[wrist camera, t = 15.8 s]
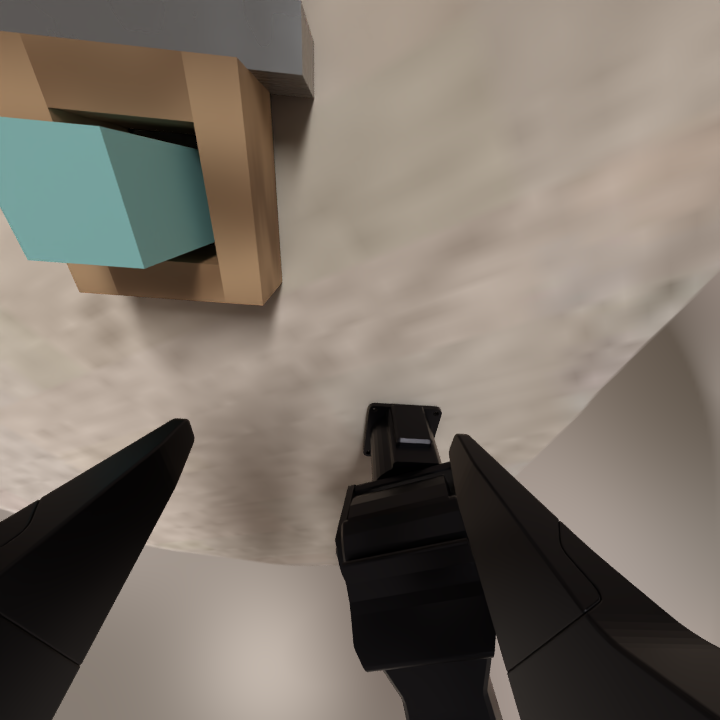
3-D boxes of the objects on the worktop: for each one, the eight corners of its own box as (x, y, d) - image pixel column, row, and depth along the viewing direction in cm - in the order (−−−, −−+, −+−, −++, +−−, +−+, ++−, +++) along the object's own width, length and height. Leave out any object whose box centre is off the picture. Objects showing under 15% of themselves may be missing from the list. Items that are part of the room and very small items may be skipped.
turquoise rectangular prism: (236, 233, 18) (144, 268, 10) (171, 228, 18) (27, 259, 10) (225, 156, 16) (99, 126, 8) (152, 149, 16) (-50, 111, 8)
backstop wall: (314, 98, 14) (302, 74, 11) (27, 67, 14) (-64, 34, 11) (313, 42, 13) (301, 0, 10) (4, 6, 13) (-105, -49, 10)
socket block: (282, 281, 19) (263, 305, 15) (136, 270, 19) (79, 292, 15) (269, 92, 14) (236, 57, 10) (70, 71, 14) (-41, 26, 10)
